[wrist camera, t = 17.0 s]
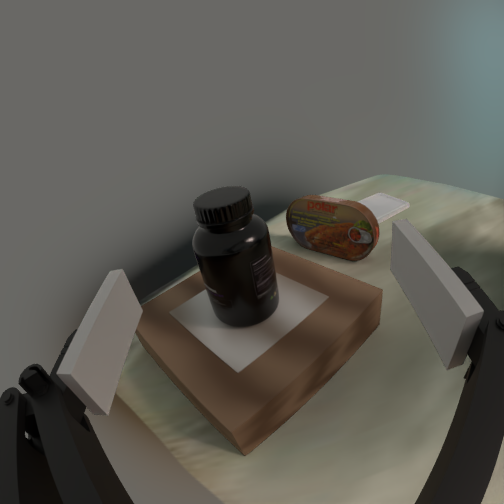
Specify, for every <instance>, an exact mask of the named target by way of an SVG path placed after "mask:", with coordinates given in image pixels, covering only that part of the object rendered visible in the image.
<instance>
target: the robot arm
mask: <svg viewBox="0 0 504 504" xmlns="http://www.w3.org/2000/svg"><path fill="white" fill-rule="evenodd" d="M390 270H391V271H392V273H393V275H394V276H395V278H396V279H397V281H398V283H399V284H400V286H401V288H402V289H403V291H404V293H405V294H406V296H407V298H408V299H409V301H410V303H411V305H412V306H413V308H414V310H415V311H416V313H417V315H418V317H419V318H420V320H421V322H422V324H423V326H424V327H425V329H426V331H427V333H428V335H429V337H430V338H431V340H432V342H433V344H434V346H435V348H436V350H437V352H438V354H439V356H440V358H441V360H442V361H443V363H444V365H445V367H446V369H447V370H449V369H451V368H454V367H457V366H459V365H462V364H463V363H464V361H465V359H466V356H467V354H468V356H469V357H470V359H471V361H472V362H471V364H470V366H469V368H468V370H467V372H466V374H465V376H464V378H465V379H466V380H465V384H464V387H463V391H462V394H461V397H460V400H459V403H458V406H457V409H456V412H455V415H454V418H453V421H452V423H451V426H450V429H449V431H448V434H447V437H446V439H445V442H444V444H443V446H442V449H441V451H440V453H439V456H438V458H437V460H436V463H435V465H434V467H433V469H432V471H431V473H430V475H429V477H428V479H427V481H426V483H425V485H424V487H423V489H422V491H421V493H420V495H419V497H418V499H417V501H416V502H415V504H481V502H482V499H483V497H484V494H485V492H486V489H487V487H488V484H489V481H490V479H491V476H492V473H493V470H494V467H495V464H496V461H497V457H498V454H499V451H500V447H501V444H502V440H503V436H504V311H499V310H498V309H497V308H496V306H495V305H494V304H493V303H492V301H491V300H490V299H489V297H488V296H487V295H486V294H485V292H484V291H483V290H482V289H480V286H479V285H478V284H477V283H476V282H475V280H474V279H473V278H472V277H471V275H470V274H469V273H468V272H466V271H465V270H463V269H461V268H460V267H455V268H450V267H449V266H448V264H447V263H446V262H445V261H444V260H443V259H442V257H441V256H440V255H439V254H438V253H437V252H436V250H435V249H434V248H433V247H432V246H431V245H430V244H429V243H428V241H427V240H426V239H425V238H424V237H423V236H422V235H421V234H420V233H419V231H418V230H417V229H416V228H415V227H414V226H413V225H412V224H411V223H410V222H409V221H408V220H407V219H403V220H397V221H392V251H391V268H390ZM142 312H143V310H142V308H141V306H140V304H139V302H138V300H137V298H136V296H135V294H134V292H133V290H132V288H131V286H130V284H129V282H128V279H127V277H126V275H125V273H124V271H123V269H119V270H115V271H110V272H109V274H108V276H107V277H106V279H105V281H104V282H103V284H102V286H101V288H100V290H99V291H98V293H97V295H96V296H95V298H94V300H93V302H92V304H91V306H90V307H89V309H88V311H87V313H86V315H85V317H84V318H83V320H82V323H81V325H80V326H79V328H78V329H76V330H75V331H74V332H73V333H72V334H71V335H70V336H69V337H68V339H67V341H66V343H65V345H64V348H63V349H62V351H61V355H59V357H58V359H57V361H56V363H55V365H54V368H53V369H52V372H51V374H50V376H49V375H48V374H47V373H46V371H45V370H44V369H43V368H42V367H41V366H40V365H38V364H33V365H31V366H28V367H27V368H26V369H25V370H24V371H23V372H22V374H21V375H20V378H19V385H20V386H21V387H22V388H23V389H24V390H25V391H26V392H27V393H26V394H21V393H20V391H19V390H18V389H17V388H13V387H12V388H9V389H7V390H6V391H5V392H3V394H2V396H1V398H0V504H134V503H133V501H132V500H131V498H130V496H129V495H128V493H127V492H126V490H125V488H124V487H123V485H122V483H121V482H120V480H119V478H118V476H117V475H116V473H115V471H114V469H113V467H112V465H111V464H110V462H109V460H108V458H107V456H106V454H105V453H104V450H103V448H102V446H101V444H100V442H99V440H98V438H97V436H96V434H95V432H94V430H93V427H92V425H91V423H90V421H89V419H88V417H87V416H86V415H85V414H84V412H85V409H86V407H87V408H88V409H89V410H90V411H91V412H92V413H93V414H94V415H107V416H108V414H109V411H110V408H111V404H112V401H113V398H114V394H115V391H116V388H117V385H118V382H119V378H120V375H121V372H122V369H123V366H124V363H125V360H126V357H127V354H128V351H129V348H130V345H131V342H132V340H133V337H134V334H135V331H136V328H137V325H138V323H139V320H140V317H141V314H142ZM25 431H26V432H27V433H28V439H27V438H26V437H25Z"/></svg>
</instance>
